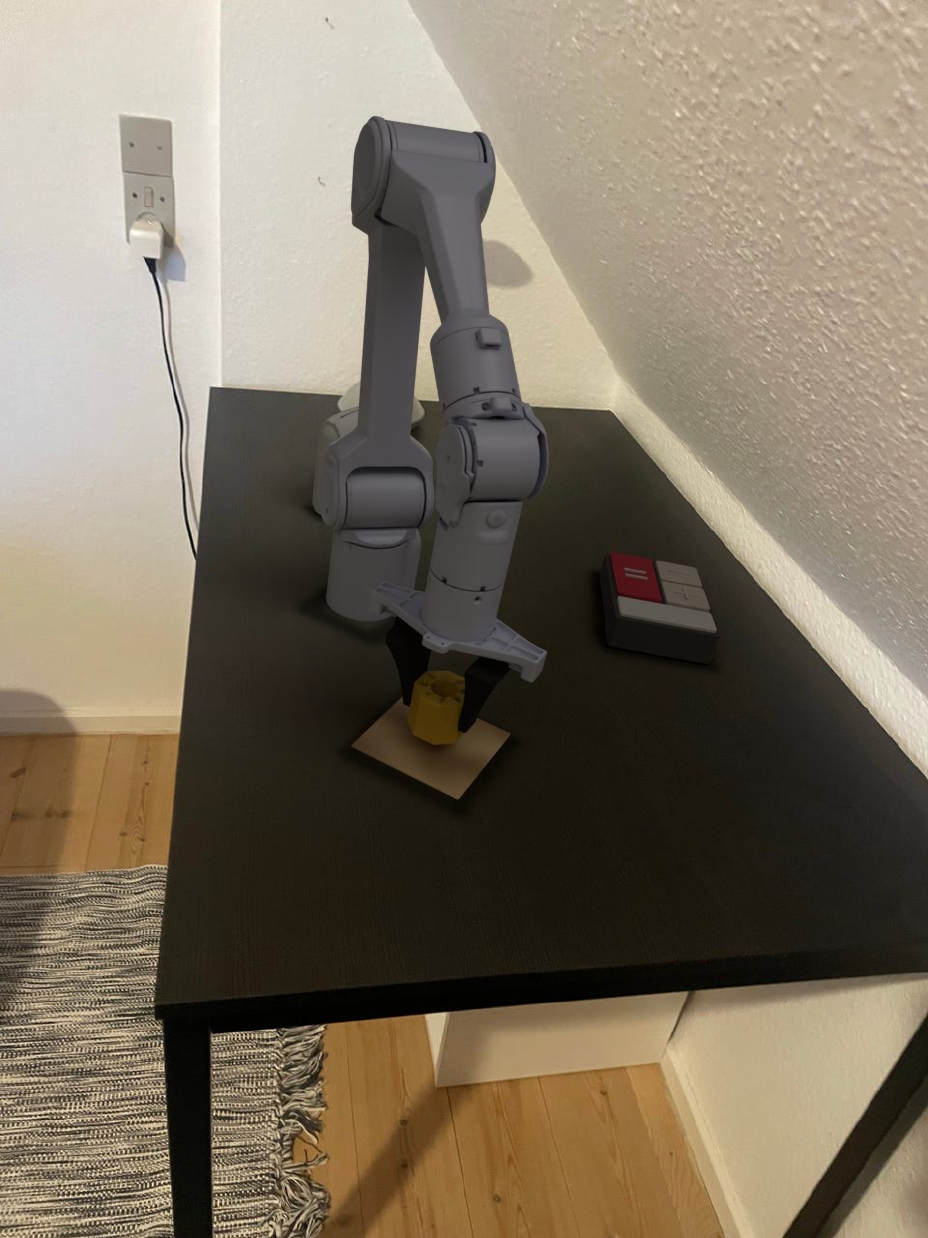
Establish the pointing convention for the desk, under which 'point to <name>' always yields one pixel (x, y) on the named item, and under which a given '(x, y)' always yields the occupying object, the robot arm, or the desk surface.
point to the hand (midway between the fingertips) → (438, 712)
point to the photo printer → (327, 435)
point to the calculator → (657, 608)
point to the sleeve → (437, 707)
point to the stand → (431, 751)
